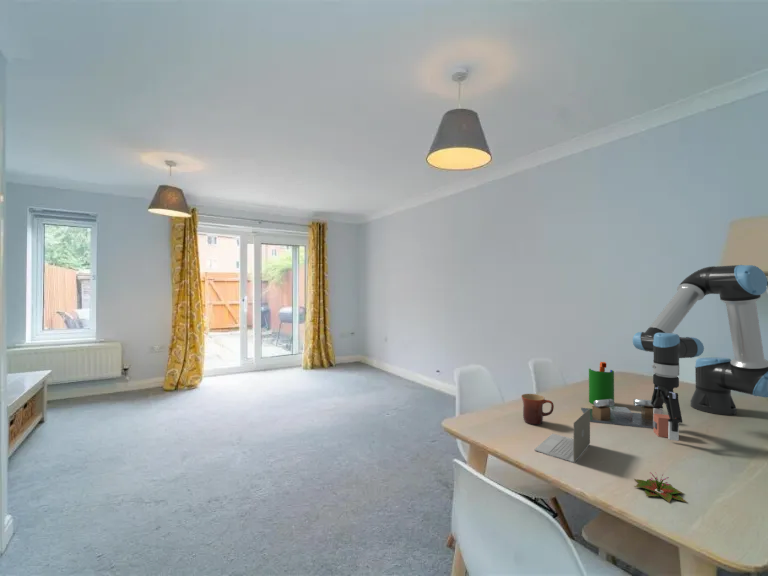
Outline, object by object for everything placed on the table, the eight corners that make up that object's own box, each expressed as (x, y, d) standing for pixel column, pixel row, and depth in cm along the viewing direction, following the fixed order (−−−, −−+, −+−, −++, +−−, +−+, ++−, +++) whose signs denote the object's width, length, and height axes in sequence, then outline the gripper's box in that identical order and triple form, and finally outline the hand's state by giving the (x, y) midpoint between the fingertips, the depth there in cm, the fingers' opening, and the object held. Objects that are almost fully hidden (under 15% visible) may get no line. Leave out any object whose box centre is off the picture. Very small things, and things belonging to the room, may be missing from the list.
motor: (608, 400, 171) (608, 359, 171) (618, 407, 162) (618, 363, 162) (586, 400, 172) (586, 359, 172) (595, 406, 163) (595, 363, 163)
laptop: (552, 435, 132) (552, 400, 132) (590, 445, 124) (590, 408, 124) (533, 451, 119) (534, 413, 119) (574, 464, 111) (575, 422, 111)
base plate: (652, 416, 150) (652, 397, 150) (668, 429, 136) (668, 408, 136) (581, 409, 159) (581, 391, 159) (588, 421, 145) (588, 401, 145)
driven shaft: (607, 414, 150) (607, 397, 150) (615, 418, 147) (615, 400, 147) (592, 416, 148) (592, 399, 148) (600, 420, 144) (600, 402, 144)
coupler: (674, 434, 133) (674, 415, 132) (680, 439, 128) (680, 419, 128) (651, 431, 135) (651, 413, 135) (656, 436, 131) (656, 417, 131)
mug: (520, 424, 142) (520, 398, 142) (522, 416, 150) (522, 392, 150) (553, 429, 137) (553, 402, 137) (553, 421, 145) (553, 396, 145)
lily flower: (641, 501, 92) (642, 483, 92) (625, 477, 103) (625, 461, 103) (698, 510, 88) (698, 491, 88) (674, 484, 100) (674, 468, 100)
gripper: (641, 367, 144) (640, 419, 145) (668, 382, 121) (667, 445, 121) (663, 368, 142) (663, 421, 142) (695, 384, 118) (694, 448, 119)
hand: (665, 432), depth 132 cm, fingers open, 13 cm apart
